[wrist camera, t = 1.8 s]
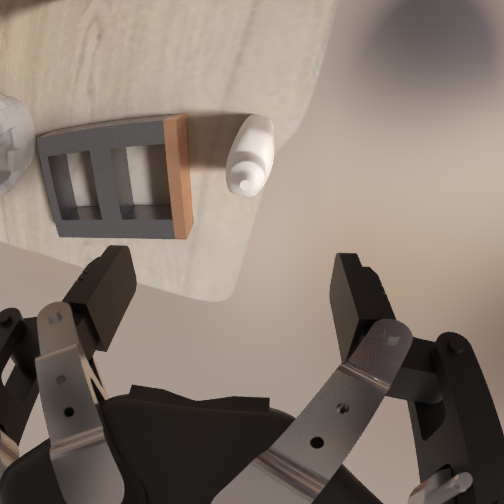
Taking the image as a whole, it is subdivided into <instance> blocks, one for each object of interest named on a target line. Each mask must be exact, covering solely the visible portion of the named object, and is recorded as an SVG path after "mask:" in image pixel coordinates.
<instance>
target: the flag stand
mask: <svg viewBox="0 0 504 504" xmlns="http://www.w3.org/2000/svg"><path fill="white" fill-rule="evenodd" d="M35 145H36V135H35V127H34V123H33V120H32V117H31V115H30V113H29V111H28V109H27V107H26V106H25V105H24V104H23V103H22V102H21V101H20V100H18V99H17V98H14V97H12V96H3V95H1V94H0V197H2V196H3V195H4V194H6V193H7V192H9V191H10V190H11V189H13V188H14V187H15V186H16V185H17V183H18V182H19V181H20V179H21V177H22V175H23V172H25V171H26V169H27V168H28V167H29V165H30V163H31V161H32V159H33V156H34V152H35Z"/></svg>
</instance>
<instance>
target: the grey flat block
mask: <svg viewBox="0 0 504 504" xmlns="http://www.w3.org/2000/svg"><path fill="white" fill-rule="evenodd" d="M36 139H37V145H38V151H39V156H40V161H41V166H42V171H43V176H44V181H45V185H46V189H47V194H48V198H49V202H50V206H51V210H52V213H53V217H54V221H55V224H56V228H57V231H58V234H59V237H85V238H145V239H187V237H188V235H189V233H190V231H191V228H192V226H193V224H194V221H193V210H192V198H191V185H190V172H189V157H188V141H187V122H186V114H174V115H161V116H149V117H139V118H130V119H122V120H114V121H106V122H99V123H93V124H86V125H80V126H75V127H69V128H64V129H59V130H54V131H52V132H49V133H47V134H45V135H43V136H41V137H38V138H36ZM157 144H165V150H166V161H167V172H168V182H169V191H170V201H171V205H134V203H133V197H132V190H131V184H130V177H129V170H128V162H127V154H126V147H130V146H142V145H157ZM82 151H90V157H91V164H92V170H93V175H94V181H95V186H96V192H97V197H98V202H99V206H88V207H77V206H76V202H75V198H74V193H73V188H72V184H71V179H70V174H69V168H68V163H67V157H66V154H67V153H74V152H82Z"/></svg>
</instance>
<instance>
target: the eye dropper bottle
mask: <svg viewBox="0 0 504 504" xmlns="http://www.w3.org/2000/svg"><path fill="white" fill-rule="evenodd" d="M273 159H274V135H273V125H272V121H271V120H270V119H269V118H266V117H262V116H259V115H250V116H248V117H247V119H246V120H245V121H244V123H243V124H242V126H241V127H240V129H239V131H238V133H237V136H236V138H235V140H234V142H233V144H232V146H231V149H230V151H229V154H228V158H227V163H226V181H227V186H228V189H229V190H230V192H232V193H233V194H236V195H239V196H243V197H253V196H254V195H256V194H257V193H258V192H259V191H260V189H261V188H262V187H263V185H264V184H265V182H266V181H267V179H268V177H269V174H270V172H271V169H272V165H273Z"/></svg>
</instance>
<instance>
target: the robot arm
mask: <svg viewBox="0 0 504 504" xmlns="http://www.w3.org/2000/svg"><path fill="white" fill-rule="evenodd" d="M136 284H137V281H136V275H135V271H134V267H133V262H132V258H131V253H130V250H129V248H128V246H117V245H110V246H108V247H107V249H106V250H105V251H104V253H103V254H102V255H101V257H97V258H96V259H95V260H93V261H92V262H91V263H89V264H88V265H87V267H86V268H85V269H84V271H83V273H82V274H81V275H80V276H79V278H78V281H76V282H75V283H74V285H73V286H72V287H71V289H70V290H69V292H68V293H67V295H66V296H65V298H64V299H63V301H62V302H54V303H51V304H49V305H47V306H45V307H44V308H43V309H42V310H41V311H40V312H39V314H38V316H37V317H33V318H24V319H23V317H22V315H21V313H20V311H19V310H18V309H16V308H8V309H5V310H3V311H1V312H0V504H383V503H382V502H381V501H380V500H379V499H378V498H377V497H376V496H375V495H374V494H372V493H371V492H370V491H369V490H368V489H367V488H366V487H365V486H364V485H363V484H362V483H361V482H360V481H359V480H358V479H357V478H356V477H355V476H354V475H353V474H352V473H351V472H350V471H349V470H347V468H345V466H344V465H343V464H342V463H343V461H344V460H345V458H346V457H347V456H348V454H349V453H350V451H351V450H352V448H353V447H354V445H355V444H356V442H357V441H358V439H359V438H360V436H361V435H362V433H363V432H364V430H365V428H366V427H367V425H368V424H369V422H370V420H371V419H372V417H373V415H374V414H375V412H376V410H377V409H378V407H379V405H380V403H381V402H382V400H383V399H384V397H385V396H389V397H394V398H399V399H404V400H407V402H408V408H409V413H410V418H411V423H412V429H413V435H414V441H415V447H416V454H417V460H418V468H419V475H420V483H421V484H420V485H418V486H417V487H416V488H415V489H414V490H413V491H412V492H411V494H410V496H409V499H408V504H504V435H503V431H502V428H501V424H500V421H499V418H498V415H497V412H496V409H495V406H494V403H493V400H492V397H491V395H490V392H489V389H488V386H487V384H486V381H485V378H484V376H483V373H482V370H481V368H480V366H479V363H478V361H477V358H476V356H475V354H474V351H473V349H472V346H471V345H470V343H469V342H468V341H467V339H465V338H464V337H463V336H461V335H459V334H457V333H454V332H445V333H442V334H441V335H440V336H439V337H438V338H437V340H436V342H432V341H428V340H423V339H419V338H415V337H413V335H412V333H411V331H410V329H409V328H408V327H407V326H406V325H405V324H403V323H402V322H400V321H397V320H396V318H395V315H394V313H393V310H392V308H391V305H390V303H389V301H388V298H387V295H386V294H385V291H384V288H383V286H382V284H381V282H380V279H379V276H378V275H377V274H376V273H375V272H374V271H373V270H372V269H371V268H370V267H362V265H361V262H360V260H359V258H358V255H357V254H356V253H337V254H336V257H335V263H334V268H333V273H332V279H331V284H330V304H331V309H332V313H333V318H334V323H335V329H336V333H337V339H338V344H339V349H340V355H341V361H342V363H341V364H340V365H339V367H338V368H337V369H336V371H335V372H334V373H333V374H332V375H331V377H330V378H329V379H328V381H327V382H326V383H325V385H324V386H323V387H322V388H321V389H320V391H319V392H318V393H317V394H316V396H315V397H314V398H313V399H312V401H311V402H310V403H309V404H308V405H307V406H306V408H305V409H304V410H303V411H302V412H301V414H300V415H299V416H298V417H297V418H295V417H293V416H291V415H289V414H287V413H285V412H283V411H280V410H277V409H273V408H270V407H269V401H270V398H260V397H237V396H232V397H226V398H219V399H211V400H203V401H194V400H191V399H188V398H185V397H183V396H180V395H176V394H174V393H172V392H169V391H166V390H164V389H157V388H150V387H144V386H137V385H132V387H131V389H130V393H129V394H125V395H119V396H116V397H112V398H109V396H108V394H107V392H106V389H105V386H104V384H103V381H102V378H101V375H100V373H99V370H98V367H97V364H96V361H95V359H94V357H93V354H94V352H95V350H98V351H104V352H107V350H108V348H109V346H110V343H111V341H112V339H113V337H114V335H115V333H116V330H117V328H118V326H119V324H120V322H121V320H122V318H123V316H124V314H125V312H126V310H127V308H128V305H129V303H130V301H131V299H132V297H133V295H134V293H135V291H136ZM10 357H11V359H12V360H13V362H14V363H15V367H14V369H13V370H12V373H11V374H10V377H9V379H8V380H7V383H6V385H5V386H4V385H3V383H2V379H1V374H2V371H3V369H4V367H5V365H6V364H7V362H8V360H9V358H10ZM39 391H40V396H41V402H42V407H43V412H44V416H45V421H46V425H47V429H48V433H49V437H50V438H48V439H47V440H45V441H44V442H42V443H41V444H40V445H38V446H37V447H35V448H34V449H32V450H31V451H29V452H27V453H26V454H24V455H23V456H21V457H20V458H19V449H18V446H19V443H20V440H21V437H22V434H23V431H24V429H25V426H26V423H27V421H28V418H29V416H30V413H31V411H32V408H33V406H34V403H35V400H36V398H37V396H38V393H39Z"/></svg>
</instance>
